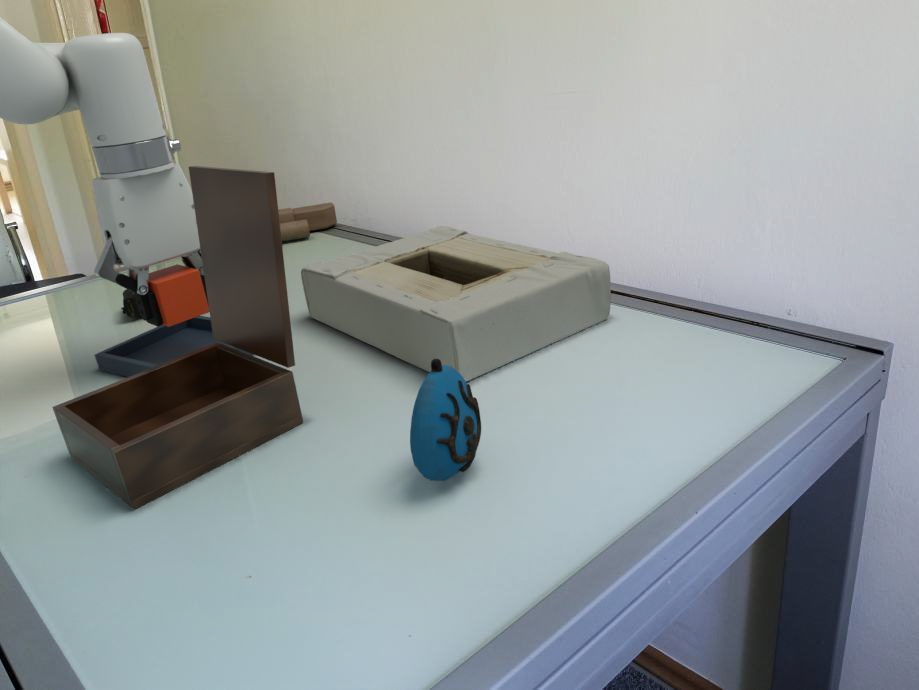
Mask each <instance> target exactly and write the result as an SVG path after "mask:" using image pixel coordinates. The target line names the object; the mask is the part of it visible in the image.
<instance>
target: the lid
mask: <svg viewBox="0 0 919 690" xmlns="http://www.w3.org/2000/svg"><path fill="white" fill-rule="evenodd" d="M188 173H189V180H190V188H191V191H192V194H193V201H194V208H195V215H196V222H197V229H198V236H199V243H200V249H201V256H202V263H203V270H204V277H205V284H206V291H207V298H208V304H209V311H210V312H209V317H210V318H211V325H212V332H213V338H214V339H216V340H218V341H221V342H223V343H226V344H228V345H231V346H233V347H236V348H239V349H241V350H244V351H246V352H249V353H251V354H253V356H255V357H258V358H261V359H263V360H264V359H265V360H266V361H268V362H269V361H270V362H271V363H273V364H276V365H278V366H281V367H285V368H286V369H289V368H292V367H295V366H296V362H295V352H294V351H295V350H294V342H293V341H294V340H293V333H292V332H293V331H292V322H291V314H290V304H289V296H288V287H287V277H286V267H285V260H284V250H283V241H282V239H281V230H280V221H279V212H278V210H279V203H278V195H277V185H276V184H277V183H276V177H275V176H276V175H275V172H274V171H265V170H251V169H250V170H249V169H238V168H227V167H214V166H202V165H201V166H200V165H191V166H190V165H189V166H188Z"/></svg>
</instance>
